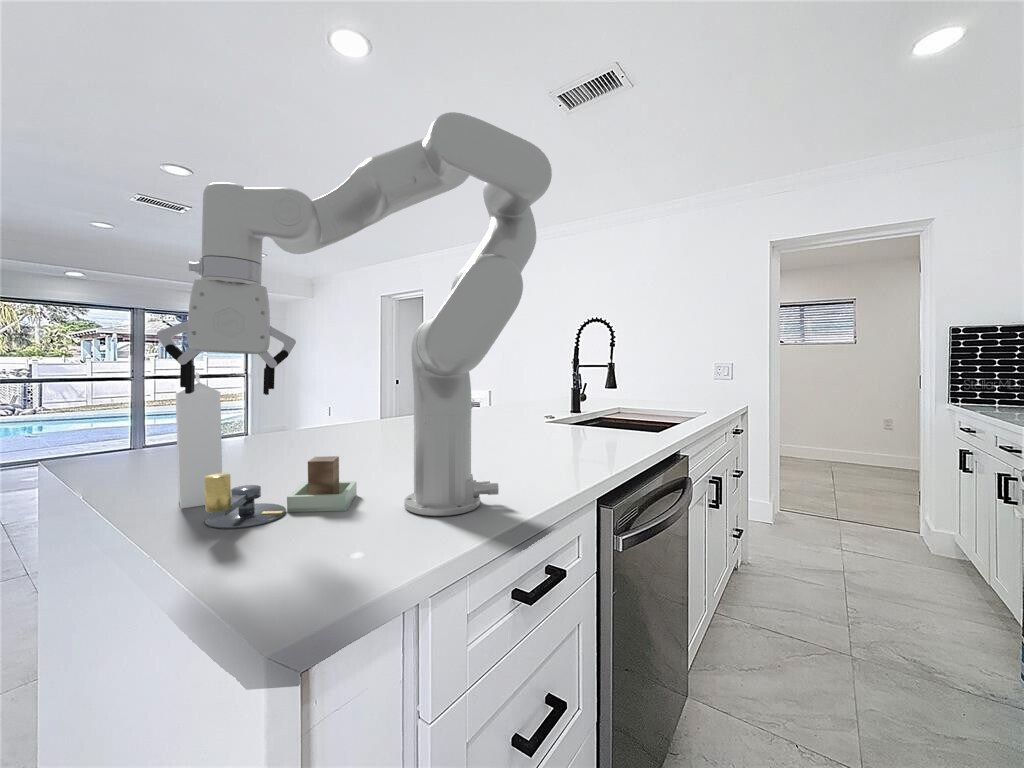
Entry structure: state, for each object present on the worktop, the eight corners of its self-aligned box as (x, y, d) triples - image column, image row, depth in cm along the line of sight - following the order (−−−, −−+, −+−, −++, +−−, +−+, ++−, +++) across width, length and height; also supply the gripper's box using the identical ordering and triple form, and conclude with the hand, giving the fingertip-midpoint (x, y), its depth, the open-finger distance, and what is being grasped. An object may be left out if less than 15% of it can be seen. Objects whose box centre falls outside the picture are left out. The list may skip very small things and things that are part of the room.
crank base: (295, 504, 82) (295, 488, 81) (270, 527, 71) (270, 509, 71) (225, 506, 80) (225, 490, 80) (189, 530, 69) (189, 511, 69)
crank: (238, 494, 77) (237, 459, 77) (264, 493, 78) (264, 459, 77) (197, 520, 65) (196, 479, 64) (229, 519, 65) (228, 478, 65)
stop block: (339, 496, 85) (338, 456, 84) (333, 502, 81) (332, 461, 80) (315, 496, 84) (314, 456, 84) (308, 503, 80) (307, 461, 80)
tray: (356, 495, 88) (356, 481, 87) (345, 510, 79) (345, 495, 79) (304, 496, 87) (304, 482, 86) (287, 512, 78) (286, 496, 77)
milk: (180, 509, 79) (175, 373, 78) (178, 500, 84) (173, 372, 82) (224, 502, 83) (219, 372, 81) (219, 494, 87) (215, 371, 86)
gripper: (152, 262, 63) (150, 394, 63) (298, 278, 71) (295, 396, 71) (164, 271, 70) (161, 390, 70) (296, 285, 77) (293, 392, 78)
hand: (229, 393), depth 71 cm, fingers open, 9 cm apart
